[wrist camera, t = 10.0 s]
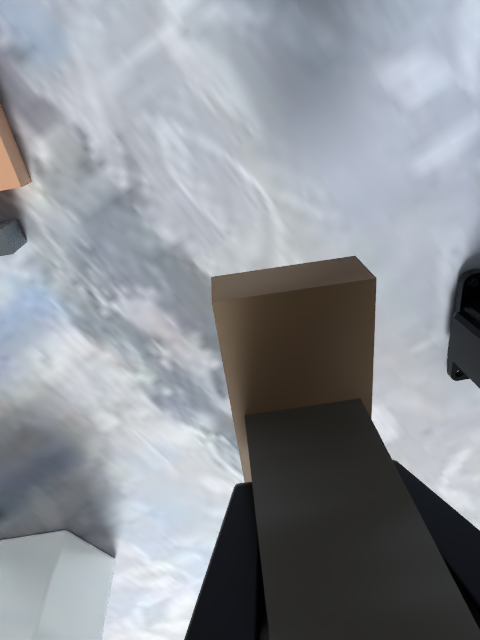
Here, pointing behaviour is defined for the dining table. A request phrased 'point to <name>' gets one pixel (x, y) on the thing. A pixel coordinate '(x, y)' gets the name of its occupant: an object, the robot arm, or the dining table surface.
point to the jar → (53, 588)
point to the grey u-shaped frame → (10, 237)
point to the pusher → (326, 462)
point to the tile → (10, 159)
